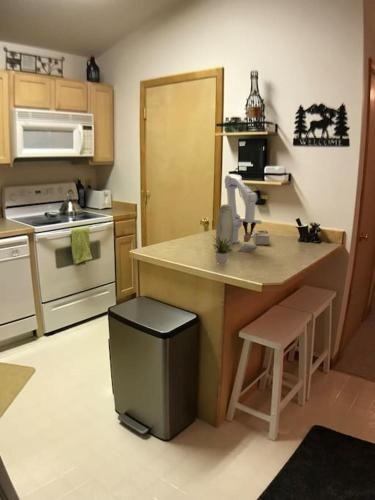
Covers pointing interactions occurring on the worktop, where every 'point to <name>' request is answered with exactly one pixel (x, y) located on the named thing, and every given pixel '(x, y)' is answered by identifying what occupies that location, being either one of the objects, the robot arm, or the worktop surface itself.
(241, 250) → the mat
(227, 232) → the grey rounded cylinder
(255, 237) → the coffee box
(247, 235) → the spatula
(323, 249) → the worktop surface
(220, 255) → the house plant
